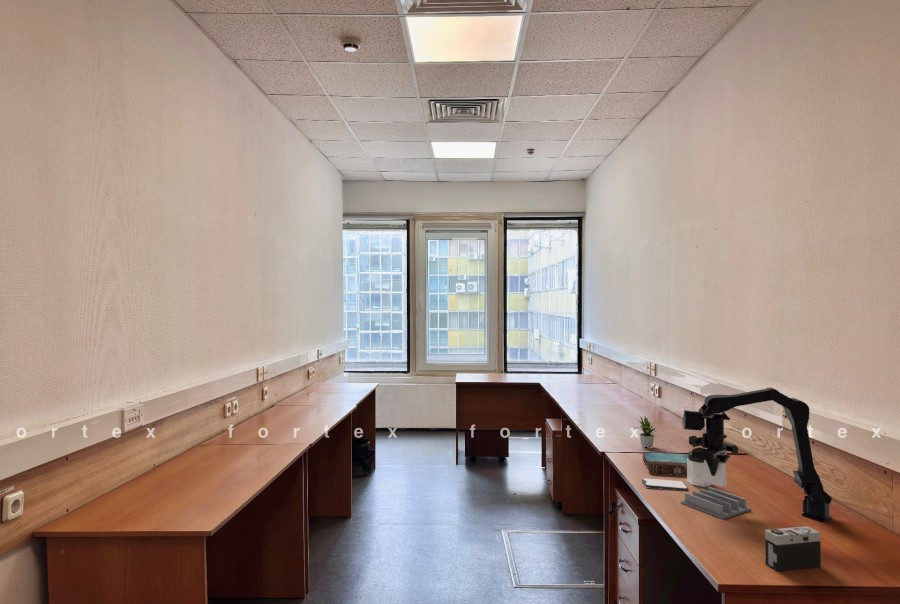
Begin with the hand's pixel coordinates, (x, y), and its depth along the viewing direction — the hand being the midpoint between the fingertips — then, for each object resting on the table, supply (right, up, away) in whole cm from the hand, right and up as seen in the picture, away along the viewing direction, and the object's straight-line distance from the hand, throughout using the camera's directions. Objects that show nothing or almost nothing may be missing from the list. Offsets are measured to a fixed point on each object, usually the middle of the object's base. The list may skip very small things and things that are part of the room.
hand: (715, 475), depth 179 cm
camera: (-1, -11, -39) cm, 41 cm away
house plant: (+5, -13, +78) cm, 79 cm away
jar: (+6, -12, +24) cm, 27 cm away
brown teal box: (+3, -13, +42) cm, 44 cm away
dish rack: (0, -11, 0) cm, 11 cm away
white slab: (0, -3, 0) cm, 3 cm away
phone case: (-9, -12, +21) cm, 26 cm away
